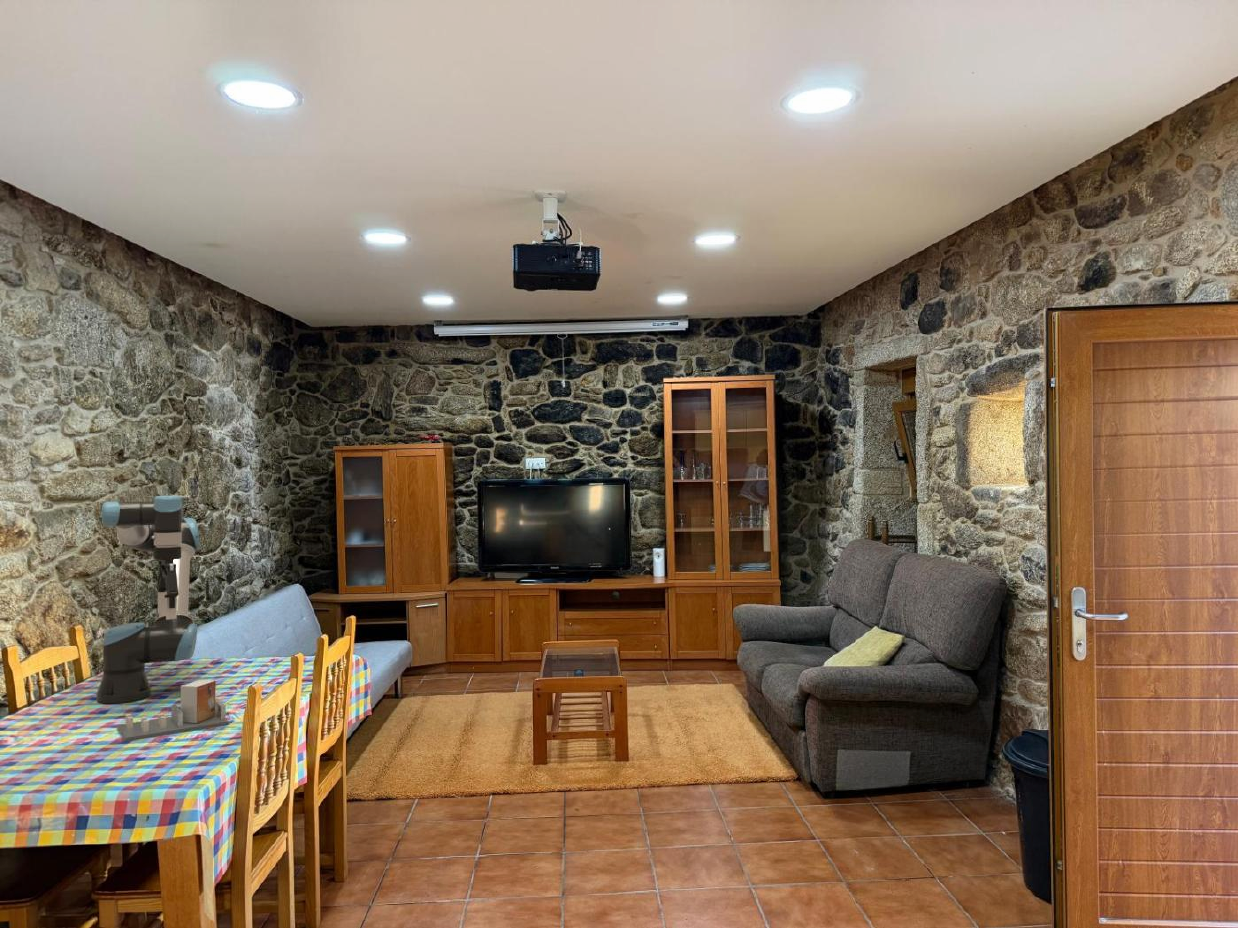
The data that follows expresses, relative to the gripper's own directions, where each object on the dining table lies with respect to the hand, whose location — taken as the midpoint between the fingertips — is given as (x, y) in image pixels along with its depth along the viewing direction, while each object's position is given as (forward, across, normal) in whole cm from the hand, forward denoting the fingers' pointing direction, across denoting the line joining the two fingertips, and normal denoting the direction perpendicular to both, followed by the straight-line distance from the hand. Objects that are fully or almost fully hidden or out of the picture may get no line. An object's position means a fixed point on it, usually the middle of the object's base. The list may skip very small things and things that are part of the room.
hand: (167, 616), depth 261 cm
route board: (+29, +20, -2) cm, 35 cm away
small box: (+28, +20, +5) cm, 35 cm away
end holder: (+29, +20, +5) cm, 35 cm away
